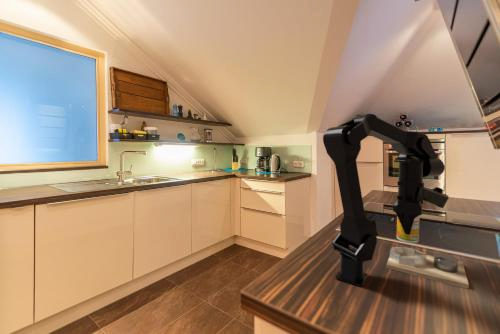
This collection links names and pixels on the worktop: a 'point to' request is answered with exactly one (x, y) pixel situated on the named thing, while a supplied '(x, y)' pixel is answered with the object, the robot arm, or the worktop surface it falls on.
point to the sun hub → (446, 263)
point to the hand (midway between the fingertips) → (408, 231)
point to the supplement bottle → (413, 234)
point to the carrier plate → (432, 272)
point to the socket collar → (413, 262)
